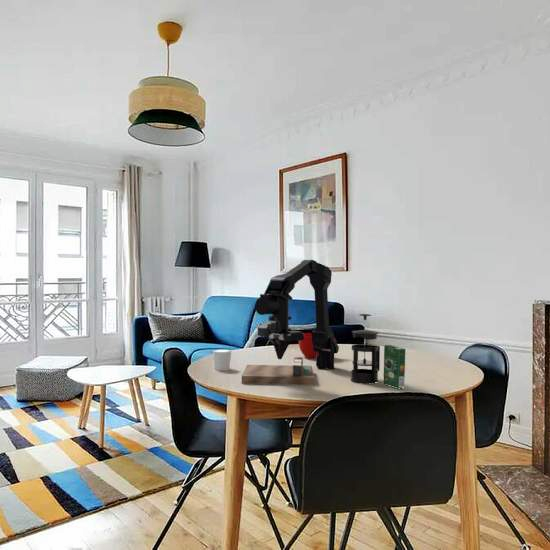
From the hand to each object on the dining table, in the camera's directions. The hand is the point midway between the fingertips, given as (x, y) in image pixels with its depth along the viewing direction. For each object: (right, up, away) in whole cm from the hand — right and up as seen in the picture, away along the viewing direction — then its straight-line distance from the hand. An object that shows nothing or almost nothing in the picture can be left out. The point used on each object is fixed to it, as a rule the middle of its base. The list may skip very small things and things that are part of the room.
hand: (279, 359), depth 160 cm
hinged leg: (+6, -5, +4) cm, 9 cm away
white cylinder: (-22, -7, +19) cm, 30 cm away
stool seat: (0, -7, +4) cm, 8 cm away
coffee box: (+37, -8, -7) cm, 39 cm away
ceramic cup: (+17, -8, +48) cm, 51 cm away
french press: (+30, -8, +1) cm, 31 cm away
